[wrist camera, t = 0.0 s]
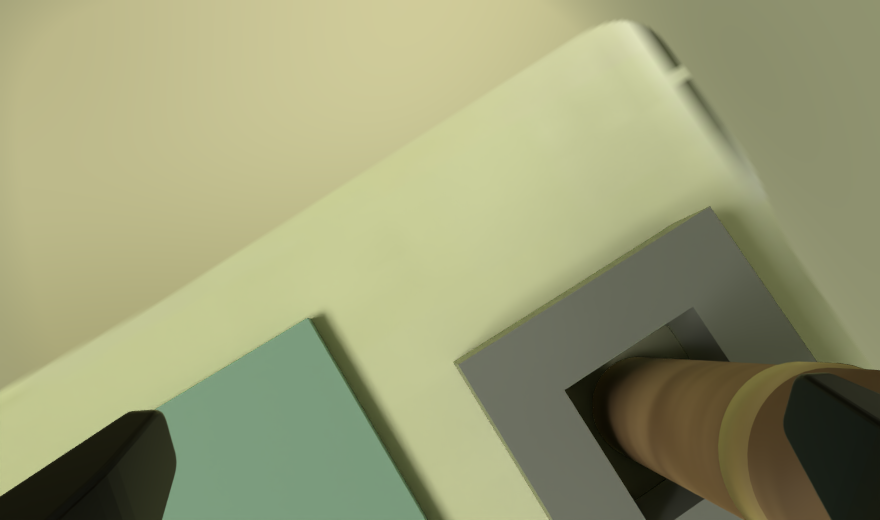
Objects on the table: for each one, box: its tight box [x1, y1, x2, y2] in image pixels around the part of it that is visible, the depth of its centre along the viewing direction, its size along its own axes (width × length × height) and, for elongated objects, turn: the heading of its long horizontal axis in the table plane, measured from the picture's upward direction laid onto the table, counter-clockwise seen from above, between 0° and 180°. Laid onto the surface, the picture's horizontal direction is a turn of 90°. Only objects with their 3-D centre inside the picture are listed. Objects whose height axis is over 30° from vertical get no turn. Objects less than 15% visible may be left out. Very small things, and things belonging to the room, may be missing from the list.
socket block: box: [454, 206, 817, 520], centre depth 21 cm, size 11×11×3 cm
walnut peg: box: [592, 357, 880, 520], centre depth 17 cm, size 4×4×12 cm
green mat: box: [155, 318, 428, 520], centre depth 22 cm, size 11×11×1 cm
